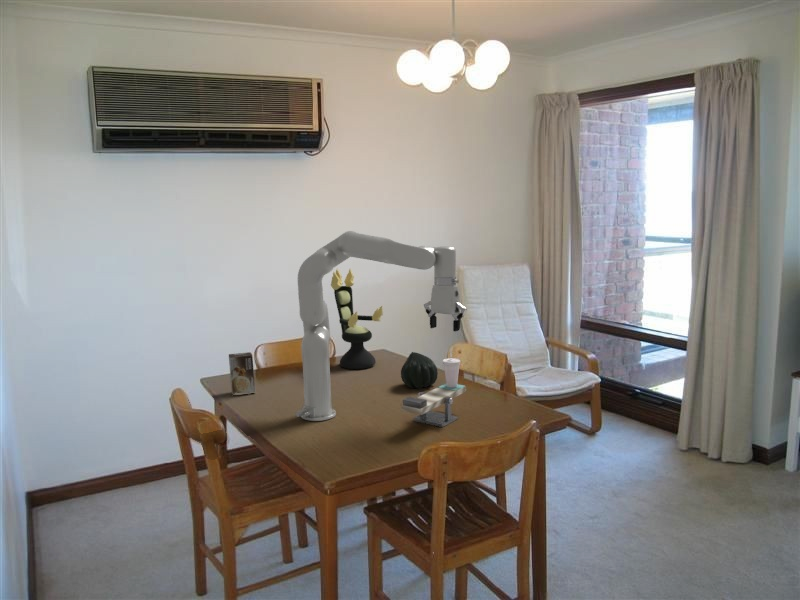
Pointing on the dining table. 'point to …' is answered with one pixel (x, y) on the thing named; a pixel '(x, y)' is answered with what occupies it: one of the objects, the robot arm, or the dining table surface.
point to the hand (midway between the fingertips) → (444, 329)
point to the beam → (431, 399)
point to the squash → (418, 371)
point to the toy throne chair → (352, 324)
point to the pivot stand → (437, 415)
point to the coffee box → (241, 373)
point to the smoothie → (451, 370)
